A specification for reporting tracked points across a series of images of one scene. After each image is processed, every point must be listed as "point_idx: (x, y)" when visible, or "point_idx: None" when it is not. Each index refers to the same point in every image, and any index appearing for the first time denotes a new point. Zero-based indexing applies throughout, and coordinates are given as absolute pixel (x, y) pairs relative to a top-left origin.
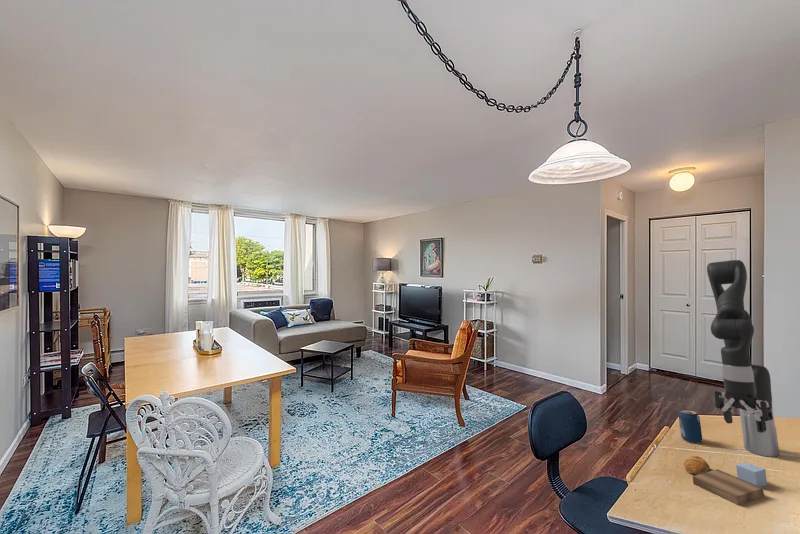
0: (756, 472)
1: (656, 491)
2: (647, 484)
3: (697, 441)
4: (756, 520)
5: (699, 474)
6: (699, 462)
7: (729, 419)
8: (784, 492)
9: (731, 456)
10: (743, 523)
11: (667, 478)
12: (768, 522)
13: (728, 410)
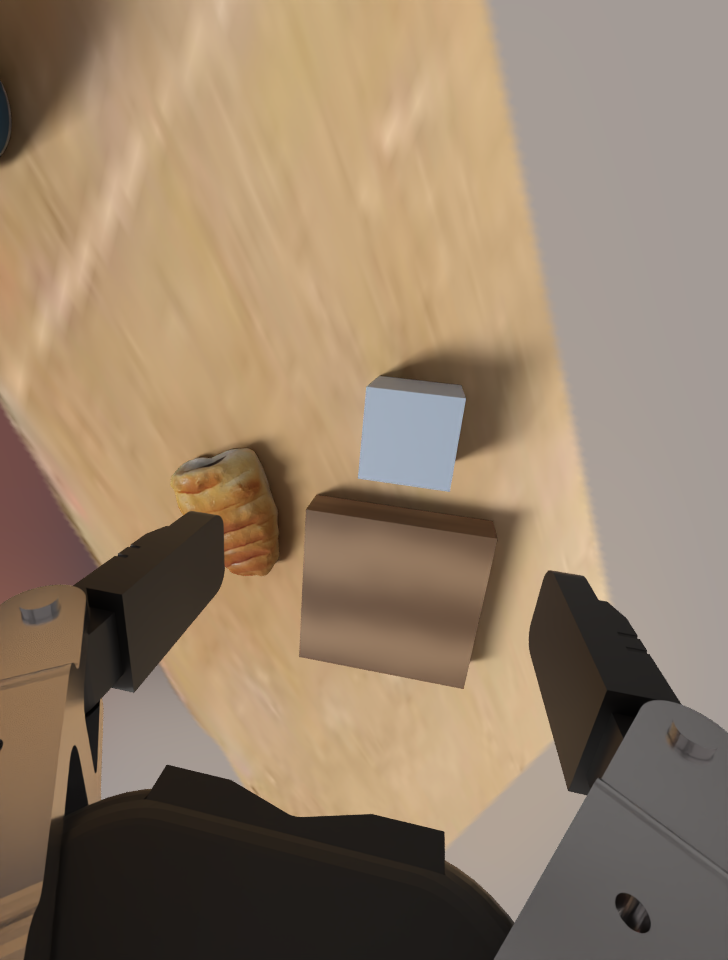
0: (451, 478)
1: (288, 760)
2: (247, 742)
3: (2, 130)
4: (533, 711)
5: (302, 622)
6: (237, 526)
7: (196, 585)
8: (533, 402)
9: (203, 145)
10: (515, 752)
11: (244, 662)
12: None
13: (94, 665)
